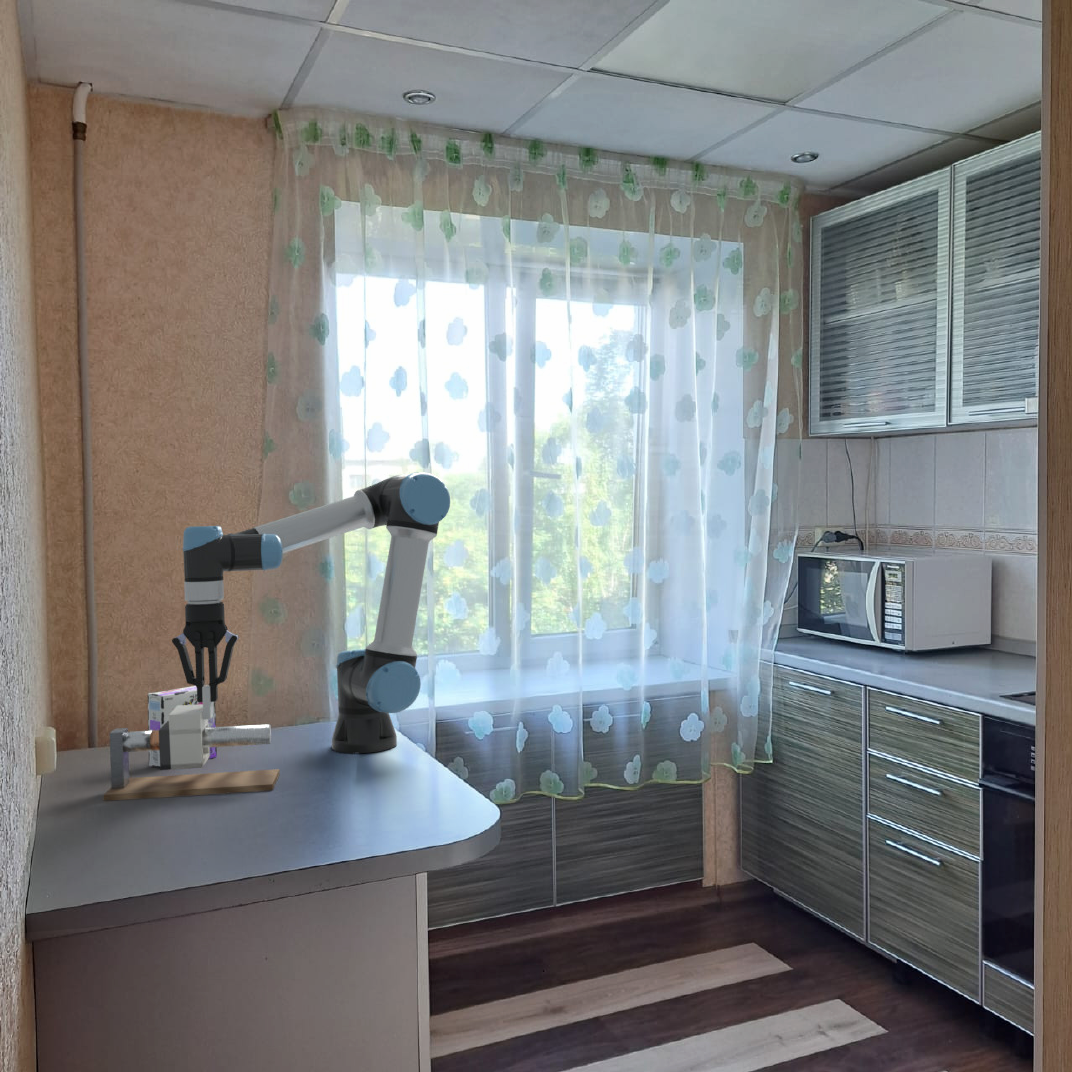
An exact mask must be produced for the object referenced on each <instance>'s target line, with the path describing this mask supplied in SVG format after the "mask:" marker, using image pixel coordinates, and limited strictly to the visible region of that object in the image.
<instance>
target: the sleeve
mask: <svg viewBox="0 0 1072 1072" xmlns="http://www.w3.org/2000/svg"><path fill="white" fill-rule="evenodd" d="M208 727H209V725H208V719H204V720H203V704H199V705H179V706H177V707H176V708H175V709H174V710H173V711H172V712H171V713H170V714H169V736H170V758H171V770H174V771H175V770H186V769H187V770H189V769H202V768H203V767H204V766H205V765H206V763H207V762H208V760H209V759H208V758H209V757H210V749H209V748H203V746H202V731H203V730H204V728H208ZM171 770H170V771H171Z"/></svg>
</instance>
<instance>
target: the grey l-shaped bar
mask: <svg viewBox="0 0 1072 1072" xmlns="http://www.w3.org/2000/svg"><path fill="white" fill-rule="evenodd" d="M271 741H272V726H271V724H270V723H269V724H268V723H267V724H266V723H265V724H250V725H249V724H247V725H246V724H245V725H234V726H233V725H231V726H229V725H228V726H216V727H208V728H204V730H203V731H202V746H203V748H209V747H217V748H223V747H240V746H241V747H242V746H243V747H244V746H257V745H258V746H259V745H270V744H271ZM155 750H159V730H152V731H148V730H135V731H129V728H128V727H124V728H123V727H122V728H121V727H120V728H115V729H113V730H111V731H110V732H109V755H110V757H109V758H110V782H111V783H110V788H111V789H121V788H125V787H126V786H127V785H128V784H129V783H130V782H129V778H130V761H129V760H130V757H129V753H135V752H149V751H155Z"/></svg>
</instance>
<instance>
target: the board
mask: <svg viewBox="0 0 1072 1072" xmlns="http://www.w3.org/2000/svg"><path fill="white" fill-rule="evenodd" d="M279 777H280V768H277V769H258V770H245V771H244V770H243V771H242V770H241V771H228V772H225V771H224V772H212V773H209V772H207V773H193V774H178V775H174V774H173V775H159V776H145V777H129V782H130V783H129V784H128V785H127V786H126V787H125V788H121V789H111V787H110V788H109V789H108V790H107V791H105V793H104V794H103V797H102V798H103V799H102V801H103V802H109V801H123V800H139V799H142V800H143V799H154V798H155V799H159V798H171V797H186V796H187V797H189V796H202V795H206V796H207V795H218V794H220V795H221V794H234V793H250V792H251V793H252V792H266V791H267V792H268V791H273V790H274V789H275V786H276V784H277V782H278V778H279Z"/></svg>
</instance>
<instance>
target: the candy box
mask: <svg viewBox="0 0 1072 1072" xmlns="http://www.w3.org/2000/svg"><path fill="white" fill-rule="evenodd" d="M199 704H203V702H199V703H198V701H197V687H196V686H195V685H192V686H186V687H181V688H174V689H168V690H162V691H158V692H157V691H156V692H148V693H147V715H148V716H147V719H148V720H147V721H148V722H147V723H148V724H147V725H148V726H147V727H148V728H147V729H148V730H147V731H152V730H159V729H160V728H161V727H162V726H163V725H164V724H165V723H166V722H167V721H169V714H170V713H171V712H172V711H173V710H174V709H175V708H176V707H177V706H179V705H199ZM208 725H209V727H217V721H216V702H213V717H212V718H211V719H208ZM217 748H218V747H209V749H210V757H209V758H208V760H209V759H214V758H217V757H218V756H217V755H218V753H217V752H218V750H217ZM148 766H149V767H152V768H157V769H159V770H160V750H155V751H148Z"/></svg>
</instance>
